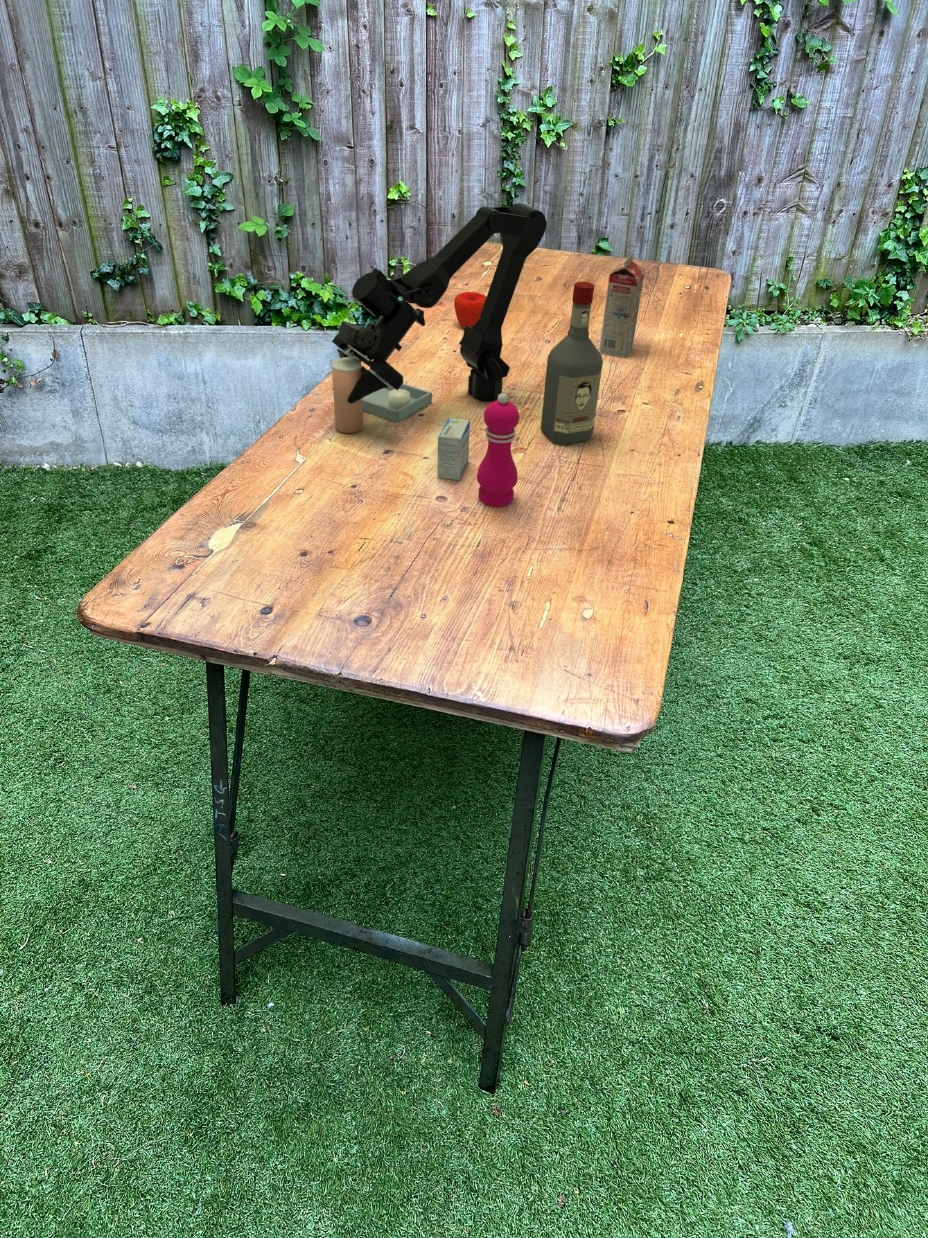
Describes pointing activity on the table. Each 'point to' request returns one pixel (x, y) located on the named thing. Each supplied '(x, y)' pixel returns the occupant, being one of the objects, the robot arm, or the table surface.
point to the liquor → (573, 378)
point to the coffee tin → (346, 395)
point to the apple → (468, 308)
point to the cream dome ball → (398, 398)
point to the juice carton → (621, 309)
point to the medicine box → (453, 449)
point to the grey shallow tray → (380, 407)
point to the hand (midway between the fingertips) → (341, 396)
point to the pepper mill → (498, 454)
